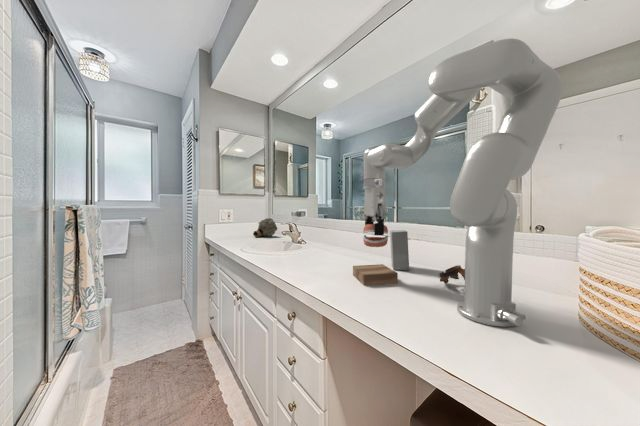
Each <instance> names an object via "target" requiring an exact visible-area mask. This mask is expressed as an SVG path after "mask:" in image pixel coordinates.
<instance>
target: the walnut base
mask: <svg viewBox="0 0 640 426" xmlns="http://www.w3.org/2000/svg"><path fill="white" fill-rule="evenodd" d="M352 276H353V277H354V278H355V279H356V280H357V281H359V283H360V284H361V285H362V286H365V287H366V286H367V287H368V286H377V285H379V286H380V285H381V286H382V285H391V284H393V285H394V284H398V282H399V281H398V280H399V279H398V278H399V277H398V272H397V271H396V270H393V268H390V267H388V266H387V265H385V264H383V263H382V264H381V263H379V264H365V265H364V264H363V265H361V264H360V265H352Z"/></svg>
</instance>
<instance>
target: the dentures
mask: <svg viewBox="0 0 640 426" xmlns="http://www.w3.org/2000/svg"><path fill="white" fill-rule="evenodd" d="M362 233H363V234H367V233H374V224H367V225H365V224H364V226H363V231H362ZM384 234H387V235H385V236H384V237H382V236H380V237H379V236H378V237H377V236H370V237H369V236H367V235H363V239H362V240H363V244H364V246H366V247H371V248H382V247H384V246H386V245H388V239H389V236H388V234H389V229H388V227H387V226H386V225H385V224H384Z"/></svg>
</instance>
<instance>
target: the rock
mask: <svg viewBox="0 0 640 426" xmlns="http://www.w3.org/2000/svg"><path fill="white" fill-rule="evenodd" d="M276 231H278V226H277V224H276V222H275V220H273V218H271V217H269V218H265V219H262V220H260V221H259V222H258V228H257V230H254V231H253V233H252V234H253V237H255V238H260V237H261V238H262V237H268V238H269V237H272V236H274V235H275V233H276Z"/></svg>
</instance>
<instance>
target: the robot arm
mask: <svg viewBox="0 0 640 426" xmlns="http://www.w3.org/2000/svg"><path fill="white" fill-rule="evenodd" d="M427 83H428V84H427V85H428V90H430V93H431V95H429V97H428V98H427V99H426V100H424V101H425V102H423V103H422V105H421V106H420V107H419V108H418V109H417V110H416V111H415V112H414V120H415V122H416V124H417V129H416V132H415V134H414V135H413V137H412V138H411V139H410V140H409V141H408V142H407V143H406V144H405V145H400V144H394V143H384V144H380V145H379V146H377V147H374V148H368V149H366V150H365V151H363V189H364V198H363V200H364V202H363V203H364V204H363V212H364V226H365V225H367V224H374V232H373V235H374V236H384V234H385V233H384V225H385V219H386V216H387V215H388V214H387V212H388V210H387V208H388V206H387V193H386V168H388V169H398V170H405V169H409V168H410V167H412V166H413V165H414V164H416V163H418V161H419V160H420V159H421V158H422V157H423V156H425V154H427V152H428V151H429V150H430V148H431V146H432V145H433V142H434V141H435V138H436V135H437V133H438V132H439V131H441V129H442V128H443V127H444V126H445V125H446V124H448V123H449V122H450V120H452V119H453V118H454V117H455V116H456V115H457V114H459V112H460V111H461V110H462V109H464V108H465V107H466V106H467V105H468V104H469V103H470V102H471V101H472V100H473V99H474V98H475V97H476V96H477V94H478V93H480V91H481V89H483V88H487V87H488V88H491V89H492V90H493V91H495V92H497V93H499V94H500V95H502V96H505V97H507V98H508V99H510V105H508V107H507V108H506V110H505V112H504V114H503V116H502V117H501V120H500V123H499V126H498V128H497V131H496V132H492V133H489V134H486V135H483V136H482V137H481V138H479V139H478V140H476V141H475V142H474V144H472V146H471V147H470V149H469V150H468V152H467V154H466V156H465V158H464V160H463V164H462V166H461V169H460V171H459V174H458V176H457V179H456V182H455V185H454V187H453V191H452V193H451V197H450V200H449V211H450V213H451V216H452V218H454V220H455V221H456V222H458V224H460V225H462V226H464V227H467V231H466V235H465V249H464V257H465V258H464V259H465V260H464V269H465V280H464V294H463V295H464V297H463V298H464V299H463V300H461V301H459V302H457V305H456V306H457V307H456V310H457V312H458V313H459V314H461V315H462V316H463V317H464V318H467V319H469V320H471V321H474V322H477V323H479V324H483V325H488V326H492V327H502V328H505V327H507V328H509V327H515V326H517V327H519V326H521V325H522V324H523V322H524V321H526V318H527V316H526V315H525V314H524V313H522V312H520V311H519V312H518V311H517V309H516V307H517V305H516V304H517V303H515V302H513V301H512V295H513V294H512V291H513V289H512V288H513V260H514V259H513V258H514V257H513V256H514V255H513V254H514V240H515V239H514V237H515V229H516V228H515V227H516V222H517V215H518V204H517V203H518V202H517V200H516V198H515V196H514V194H513V193H512V192H511V191H510V190H508V186H509V184H510V182H511V181H514V180H517V179H521V177H524V176H525V175H526V174H527V173H528V172H529V171H530V170H531V168H532V165H533V164H534V162H535V160H536V157H537V154H538V152H539V150H540V147H541V146H542V142H543V140H544V139H545V137H546V135H547V133H548V129H549V126H550V124H551V122H552V120H553V118H554V115H555V114H556V111H557V109H558V107H559V104H560V102H561V98H562V94H563V82H562V77H561V76H560V74H559V73H558V72H557V71H556V70H555V69H554V68H553V67H551V66H550V65H549V64H547V63H546V62H544V61H543V60H542V59H541V58H540V57H539V56H538V55H537V54H536V53H535V52H534V51H533V50H532V49H531V47H529V45H528V44H527V43H526V42H524V41H523V40H521V39H518V38H504V39H499V40H496V41H492V42H489V43H487V44H483V45H480V46H478V47H474V48H471V49H468V50H465V51H463V52H459V53H457V54H454V55H452V56H449V57H447V58H445V59H444V60H442V61H441V62H439V63H438V64H437V65H436V66H435V67H434V68H433V70H432V71H431V73H430V75H429V77H428V82H427Z"/></svg>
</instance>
